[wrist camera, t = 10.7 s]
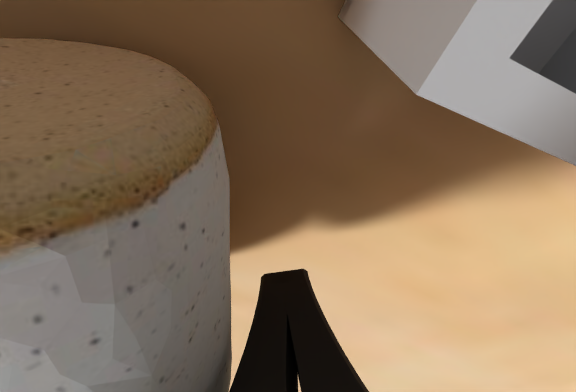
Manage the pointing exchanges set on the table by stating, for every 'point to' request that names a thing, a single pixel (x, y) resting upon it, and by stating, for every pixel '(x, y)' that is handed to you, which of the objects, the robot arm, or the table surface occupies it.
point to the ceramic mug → (110, 224)
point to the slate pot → (483, 60)
